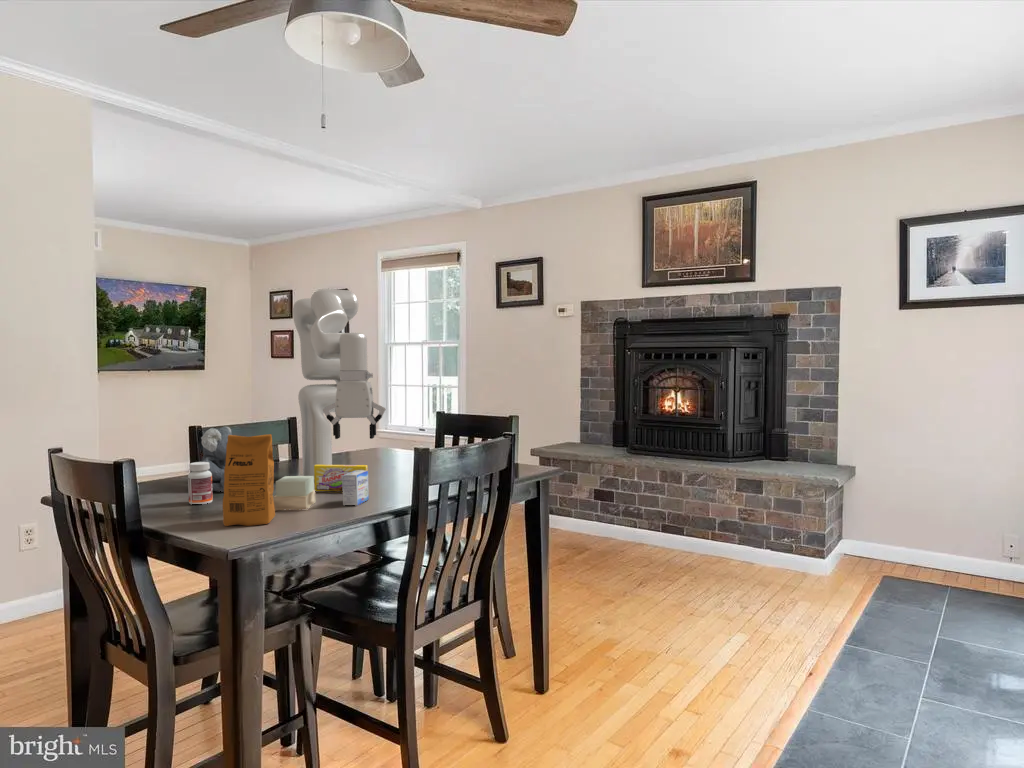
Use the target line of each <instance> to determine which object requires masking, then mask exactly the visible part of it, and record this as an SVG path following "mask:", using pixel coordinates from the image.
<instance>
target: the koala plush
mask: <svg viewBox="0 0 1024 768" xmlns="http://www.w3.org/2000/svg"><path fill="white" fill-rule="evenodd" d="M232 433H233V432H232V429H231V428H230V427H229V426H224V425H223V427H220V428H214V427H210V428H209V429H207V430H206V431H205V432H204V433H203V435H202V436H201V437H200V439H201V445H202V453H203V455H202V458H201V461H200V462H209V465H210V469H208V471H210V472H211V473H212V492H217V493H218V492H219V493H224V469H225V465H226V447H227V442H228V435H233V434H232ZM220 491H221V492H220Z"/></svg>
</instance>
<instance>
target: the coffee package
mask: <svg viewBox="0 0 1024 768" xmlns="http://www.w3.org/2000/svg"><path fill="white" fill-rule="evenodd" d="M272 436H273V435H272V434H271V433H270V434H261V435H254V436H253V435H252V436H242V435H236V434H234V435H233V434H232V435H228V442H227V447H226V465H225V469H224V492H223V497H222V523H223V526H225V527H229V526H237V525H238V526H239V525H240V526H244V527H252V526H253V527H254V526H258V525H259V526H262V525H267V524H269V523H271V521H272V520H273V519H274V518H275V517H276V510H275V507H274V501H273V496H274V495H273V494H274V492H275V491H274V489H275V488H274V487H275V486H274V482H275V481H274V480H275V472H274V471H275V461H274V455H273V451H274V449H273V437H272Z"/></svg>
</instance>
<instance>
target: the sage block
mask: <svg viewBox="0 0 1024 768" xmlns="http://www.w3.org/2000/svg"><path fill="white" fill-rule="evenodd" d="M313 490H315V482H314V476H299V475H290V476H289V475H288V476H287V475H284V476H283V477H281V478H278V480H276V481H275V495H276V496H306V495H308V494H309V493H310V492H312V491H313Z"/></svg>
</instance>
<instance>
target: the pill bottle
mask: <svg viewBox="0 0 1024 768" xmlns="http://www.w3.org/2000/svg"><path fill="white" fill-rule="evenodd" d="M208 469H210V465H209V462H201V461H195V462H191V463H189V471H190V472H189V473H188V475H187V483H188V484H187V487H188V492H187V493H188V503H189V504H190V505H192V504H202V505H207V503H208V504H211V503H212V502H213V499H214V498H213V496H214V495H213V494H214V493H213V491H212V473H211V472H210V471H208Z"/></svg>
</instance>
